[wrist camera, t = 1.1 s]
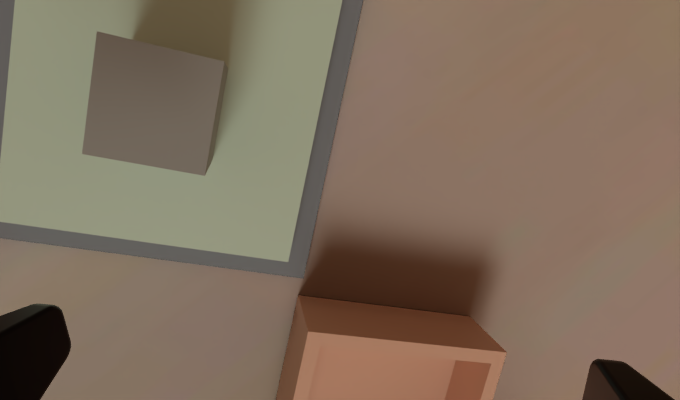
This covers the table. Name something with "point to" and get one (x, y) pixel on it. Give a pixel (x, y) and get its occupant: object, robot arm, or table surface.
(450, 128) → the table surface
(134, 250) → the mat
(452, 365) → the dish
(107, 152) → the lid
